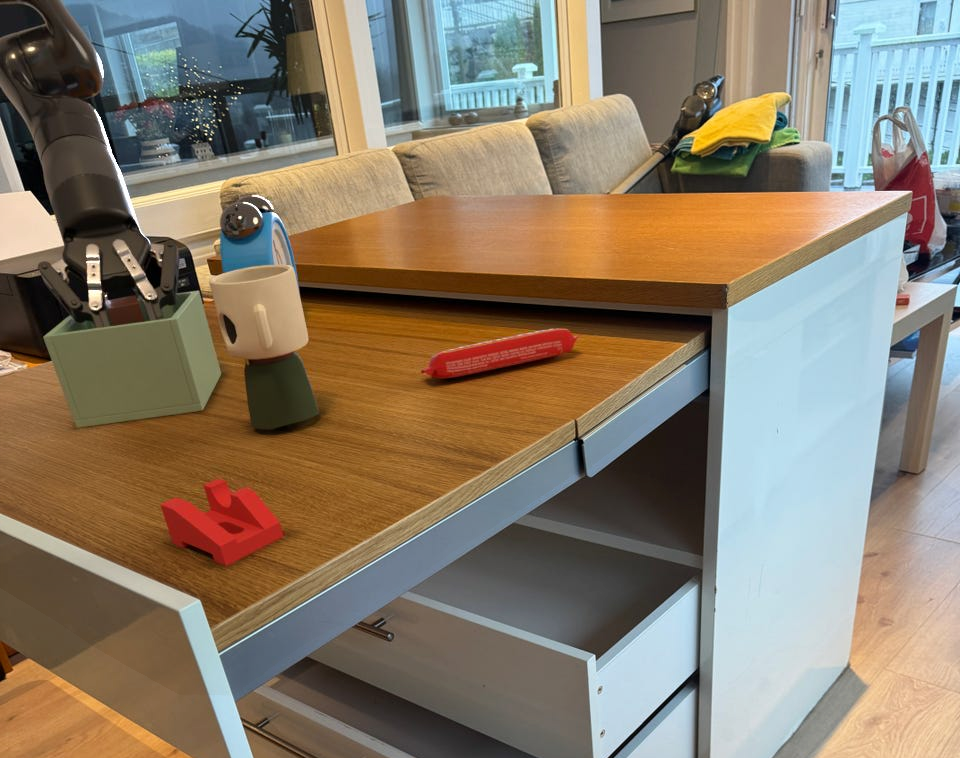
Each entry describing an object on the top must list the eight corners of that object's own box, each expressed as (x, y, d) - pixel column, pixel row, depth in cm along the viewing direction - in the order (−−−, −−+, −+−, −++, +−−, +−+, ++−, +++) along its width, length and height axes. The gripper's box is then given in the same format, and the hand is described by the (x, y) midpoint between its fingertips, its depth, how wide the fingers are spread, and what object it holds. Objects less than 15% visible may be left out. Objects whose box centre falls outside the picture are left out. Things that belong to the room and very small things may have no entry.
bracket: (173, 543, 63) (160, 504, 61) (229, 516, 66) (218, 478, 64) (226, 566, 59) (213, 525, 57) (283, 536, 62) (273, 496, 60)
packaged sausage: (569, 348, 92) (567, 318, 90) (584, 357, 89) (583, 326, 87) (420, 380, 88) (415, 349, 87) (430, 390, 85) (426, 358, 84)
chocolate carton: (133, 389, 94) (104, 300, 89) (163, 383, 95) (136, 294, 90) (136, 401, 90) (106, 309, 85) (167, 394, 91) (139, 302, 86)
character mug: (246, 412, 86) (209, 268, 79) (320, 398, 87) (290, 256, 80) (248, 450, 77) (206, 293, 70) (330, 435, 78) (297, 278, 71)
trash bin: (76, 428, 87) (42, 336, 83) (108, 389, 98) (80, 306, 93) (202, 411, 88) (176, 318, 83) (221, 374, 98) (199, 290, 93)
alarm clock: (289, 341, 107) (258, 203, 98) (238, 347, 107) (203, 210, 99) (306, 314, 118) (280, 188, 109) (260, 319, 118) (230, 194, 110)
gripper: (4, 183, 85) (52, 338, 82) (155, 160, 89) (206, 308, 86) (27, 236, 93) (72, 381, 90) (165, 213, 96) (213, 351, 93)
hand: (137, 344), depth 88 cm, fingers open, 3 cm apart
